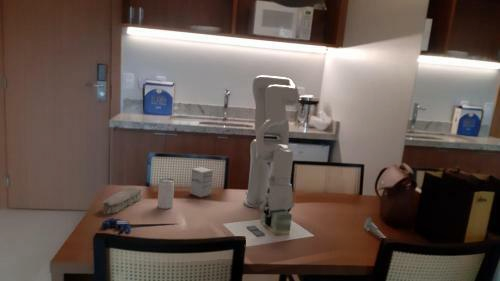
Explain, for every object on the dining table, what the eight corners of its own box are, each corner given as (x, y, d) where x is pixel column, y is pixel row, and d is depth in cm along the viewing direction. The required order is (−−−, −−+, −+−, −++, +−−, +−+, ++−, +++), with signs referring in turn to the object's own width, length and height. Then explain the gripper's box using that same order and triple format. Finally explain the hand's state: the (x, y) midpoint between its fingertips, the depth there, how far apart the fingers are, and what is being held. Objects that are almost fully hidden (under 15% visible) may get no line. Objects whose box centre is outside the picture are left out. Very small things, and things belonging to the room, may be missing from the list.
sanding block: (260, 223, 152) (262, 204, 150) (273, 222, 155) (275, 203, 153) (276, 236, 141) (278, 216, 140) (289, 234, 144) (291, 214, 143)
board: (222, 227, 148) (222, 223, 148) (285, 219, 163) (285, 216, 162) (245, 250, 131) (246, 246, 131) (313, 239, 145) (314, 235, 145)
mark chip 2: (252, 232, 142) (252, 231, 142) (260, 231, 144) (260, 230, 144) (256, 236, 139) (256, 235, 139) (264, 235, 141) (264, 234, 141)
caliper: (363, 229, 161) (365, 215, 160) (365, 229, 161) (368, 215, 160) (395, 252, 142) (397, 237, 141) (397, 252, 142) (400, 236, 141)
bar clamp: (102, 229, 131) (102, 218, 141) (101, 235, 132) (101, 224, 141) (192, 227, 143) (187, 216, 153) (192, 233, 144) (186, 222, 153)
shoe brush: (114, 216, 149) (114, 204, 148) (97, 213, 151) (98, 201, 150) (144, 198, 172) (145, 187, 171) (129, 195, 174) (130, 185, 173)
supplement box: (189, 193, 183) (191, 168, 181) (200, 190, 189) (202, 166, 187) (200, 197, 179) (202, 172, 177) (211, 194, 185) (213, 169, 183)
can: (154, 207, 161) (156, 180, 159) (161, 202, 168) (163, 177, 165) (168, 210, 160) (170, 183, 158) (175, 205, 166) (176, 179, 164)
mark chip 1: (246, 227, 146) (246, 226, 146) (254, 226, 148) (254, 225, 148) (250, 231, 143) (251, 230, 143) (258, 230, 145) (259, 229, 145)
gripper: (265, 184, 137) (260, 230, 140) (304, 182, 145) (298, 225, 149) (256, 178, 144) (251, 222, 147) (293, 176, 152) (288, 218, 155)
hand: (275, 223), depth 148 cm, fingers closed on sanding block, 6 cm apart
